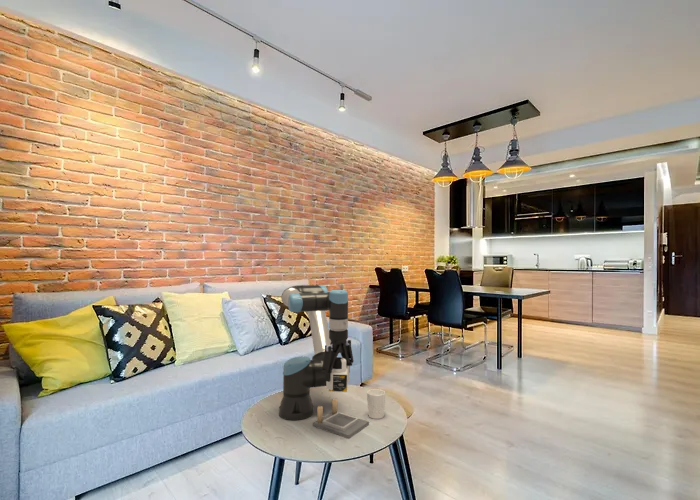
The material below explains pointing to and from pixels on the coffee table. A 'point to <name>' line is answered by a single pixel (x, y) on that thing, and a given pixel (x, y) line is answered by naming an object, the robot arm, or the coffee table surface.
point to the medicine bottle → (340, 375)
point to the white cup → (376, 403)
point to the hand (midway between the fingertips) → (338, 385)
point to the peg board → (339, 422)
